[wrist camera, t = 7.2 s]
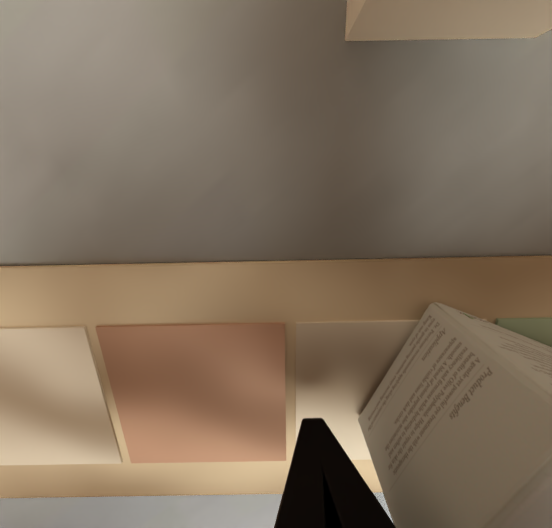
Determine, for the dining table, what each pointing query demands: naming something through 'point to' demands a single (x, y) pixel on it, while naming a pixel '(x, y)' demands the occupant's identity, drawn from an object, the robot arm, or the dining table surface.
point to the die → (446, 19)
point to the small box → (464, 426)
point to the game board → (218, 363)
